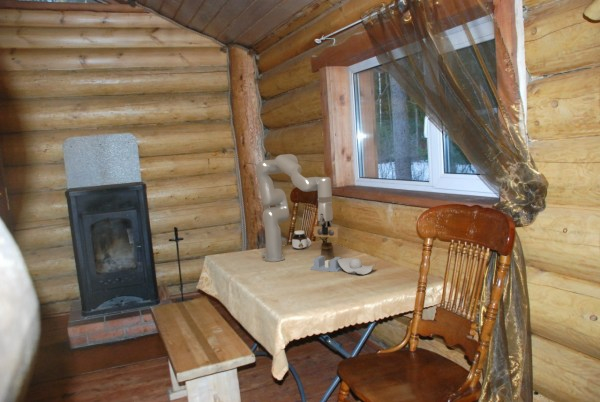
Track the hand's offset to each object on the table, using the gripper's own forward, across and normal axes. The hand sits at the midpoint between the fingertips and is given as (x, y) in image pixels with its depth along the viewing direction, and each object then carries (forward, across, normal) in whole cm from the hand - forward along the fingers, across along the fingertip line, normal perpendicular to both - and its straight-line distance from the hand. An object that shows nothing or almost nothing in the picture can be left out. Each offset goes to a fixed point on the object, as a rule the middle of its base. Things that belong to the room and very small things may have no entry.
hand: (326, 233), depth 257 cm
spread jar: (+19, -44, -40) cm, 62 cm away
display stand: (+20, 0, -1) cm, 20 cm away
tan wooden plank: (+2, 0, 0) cm, 2 cm away
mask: (+20, 0, +16) cm, 26 cm away
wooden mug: (+20, -16, -9) cm, 27 cm away
